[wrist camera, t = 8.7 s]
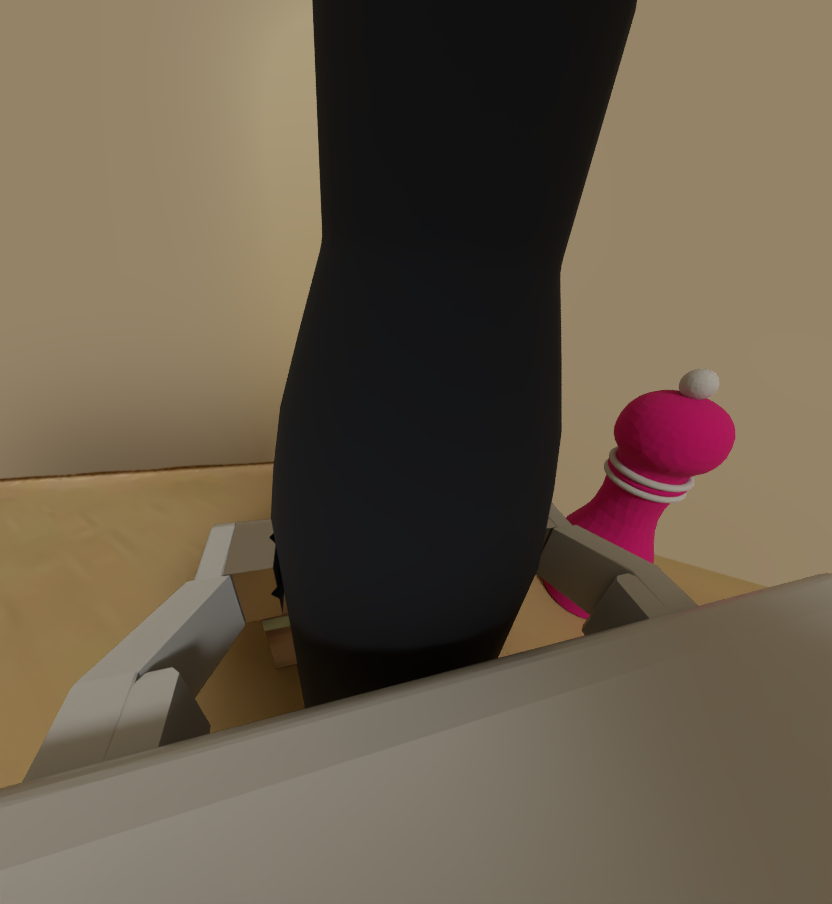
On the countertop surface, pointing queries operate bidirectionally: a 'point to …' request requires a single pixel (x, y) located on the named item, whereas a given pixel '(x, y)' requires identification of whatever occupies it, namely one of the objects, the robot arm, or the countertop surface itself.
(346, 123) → the black bottle
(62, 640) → the countertop surface
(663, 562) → the countertop surface
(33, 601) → the countertop surface
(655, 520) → the pepper mill
